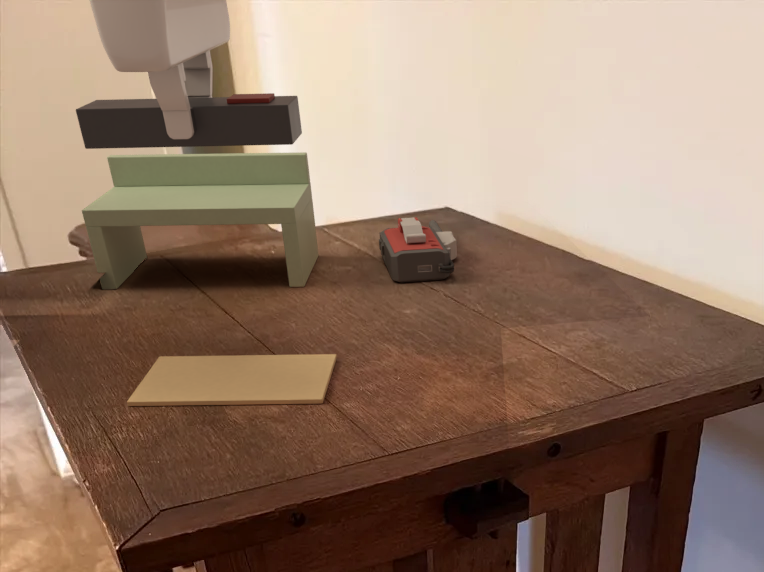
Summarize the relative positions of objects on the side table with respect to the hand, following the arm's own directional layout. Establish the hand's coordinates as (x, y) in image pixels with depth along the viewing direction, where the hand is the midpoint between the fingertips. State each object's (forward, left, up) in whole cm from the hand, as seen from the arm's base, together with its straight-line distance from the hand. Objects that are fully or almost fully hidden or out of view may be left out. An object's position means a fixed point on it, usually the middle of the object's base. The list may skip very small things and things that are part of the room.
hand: (193, 130), depth 67 cm
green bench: (-9, +32, -19) cm, 38 cm away
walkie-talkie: (+14, +36, -19) cm, 43 cm away
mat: (0, 0, -19) cm, 19 cm away
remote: (0, 0, -1) cm, 1 cm away
